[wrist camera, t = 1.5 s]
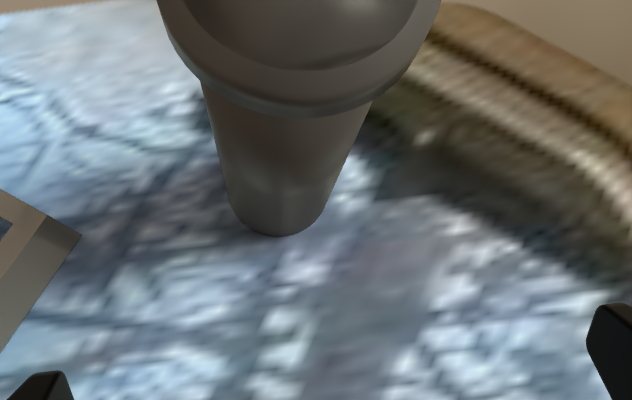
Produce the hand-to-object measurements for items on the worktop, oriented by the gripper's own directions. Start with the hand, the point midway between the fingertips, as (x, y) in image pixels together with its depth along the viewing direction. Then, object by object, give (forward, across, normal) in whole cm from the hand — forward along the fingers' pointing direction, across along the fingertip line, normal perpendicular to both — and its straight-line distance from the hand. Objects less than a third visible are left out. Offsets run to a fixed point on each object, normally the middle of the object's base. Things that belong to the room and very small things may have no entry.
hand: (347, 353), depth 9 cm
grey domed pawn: (+14, 0, +4) cm, 14 cm away
